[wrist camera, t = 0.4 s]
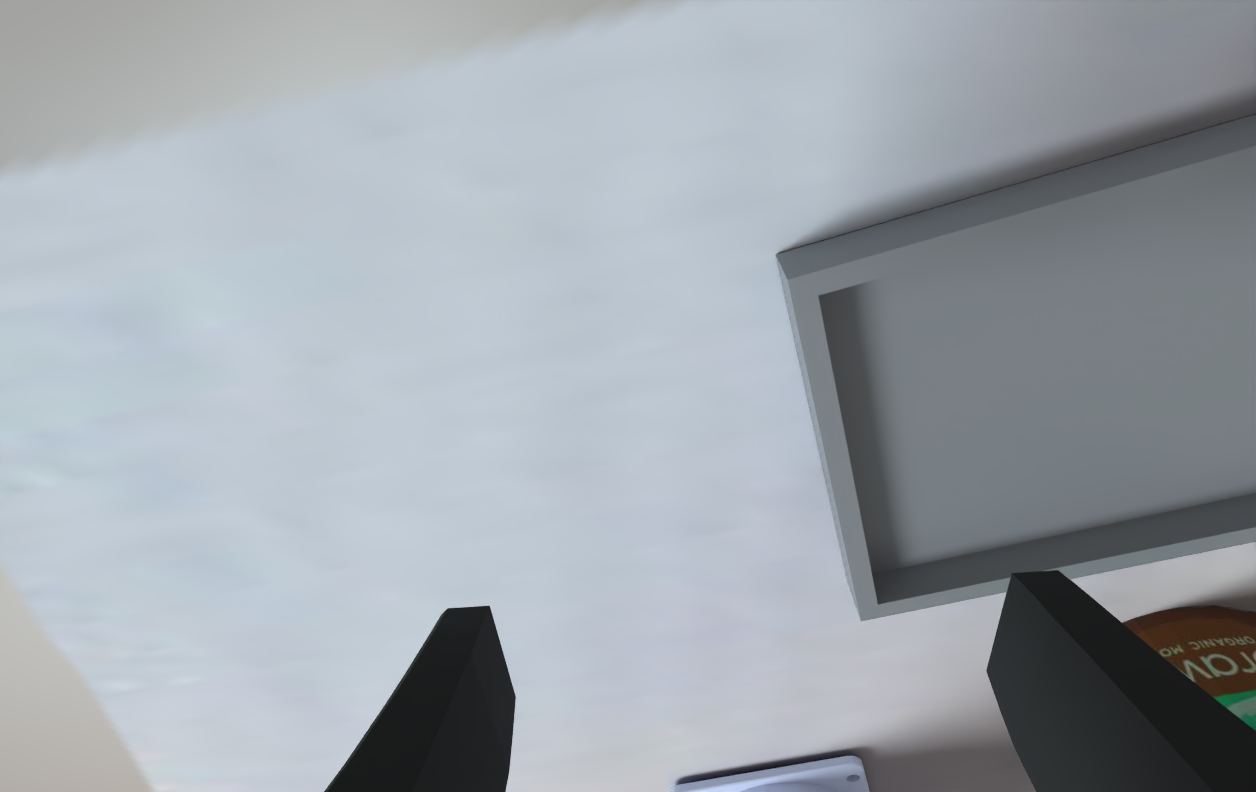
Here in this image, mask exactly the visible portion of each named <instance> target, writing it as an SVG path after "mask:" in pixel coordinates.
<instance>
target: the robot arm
mask: <svg viewBox="0 0 1256 792" xmlns="http://www.w3.org/2000/svg"><path fill="white" fill-rule="evenodd" d="M987 674H988V677H989V680H990V682H991V685H992V688H993V691H994V694H995V697H996V699H997V702H998V705H999V708H1000V711H1001V713H1002V716H1003V719H1004V721H1005V724H1006V726H1007V729H1008V732H1009V734H1010V737H1011V740H1012V742H1013V745H1014V747H1015V749H1016V751H1017V753H1018V755H1019V757H1020V759H1021V762H1022V764H1023V766H1024V768H1025V770H1026V772H1027V774H1028V776H1029V778H1030V780H1031V782H1032V784H1033V786H1034V788H1035V790H1036V792H1256V730H1254V729H1253V728H1252V727H1250V726H1249V725H1248V724H1247V723H1245V722H1244V721H1243V720H1241V719H1240V718H1239V717H1237V716H1236V715H1235V714H1234V713H1232V712H1231V711H1230V710H1229V709H1227V708H1226V707H1225V706H1223V705H1222V704H1221V703H1220V702H1218V701H1217V700H1216V699H1215V698H1213V697H1212V696H1211V695H1210V694H1208V693H1207V692H1206V691H1205V690H1203V689H1202V688H1201V687H1199V686H1198V685H1197V684H1196V683H1194V682H1193V681H1192V680H1191V679H1189V678H1188V677H1187V676H1186V675H1185V674H1183V673H1182V672H1181V671H1180V670H1178V669H1177V668H1176V667H1175V666H1173V665H1172V664H1171V663H1170V662H1169V661H1167V660H1166V659H1165V658H1164V657H1162V656H1161V655H1160V654H1159V653H1158V652H1156V651H1155V650H1154V649H1153V648H1152V647H1150V646H1149V645H1148V644H1147V643H1146V642H1144V641H1143V640H1142V639H1141V638H1139V637H1138V636H1137V635H1136V634H1135V633H1133V632H1132V631H1131V630H1130V629H1129V628H1127V627H1126V626H1125V625H1124V624H1123V623H1121V622H1120V621H1119V620H1118V619H1117V618H1115V617H1114V616H1113V615H1112V614H1111V613H1109V612H1108V611H1107V610H1106V609H1105V608H1103V607H1102V606H1101V605H1100V604H1099V603H1097V602H1096V601H1095V600H1094V599H1093V598H1091V597H1090V596H1089V595H1088V594H1087V593H1086V592H1084V591H1083V590H1082V589H1081V588H1079V587H1078V586H1077V585H1076V584H1075V583H1073V582H1072V581H1071V580H1070V579H1068V578H1067V577H1066V576H1065V575H1064V574H1062V573H1061V572H1060V571H1059V570H1052V571H1036V572H1020V573H1012V574H1011V578H1010V582H1009V586H1008V589H1007V593H1006V597H1005V601H1004V605H1003V609H1002V613H1001V617H1000V620H999V624H998V628H997V632H996V636H995V640H994V644H993V647H992V651H991V655H990V659H989V663H988V667H987ZM515 698H516V697H515V693H514V690H513V686H512V683H511V679H510V676H509V672H508V669H507V665H506V662H505V658H504V655H503V651H502V648H501V644H500V641H499V637H498V634H497V630H496V627H495V623H494V620H493V616H492V613H491V609H490V606H479V607H464V608H448V609H447V610H446V611H445V612H444V613H443V614H442V615H441V616H440V618H439V620H438V621H437V623H436V625H435V626H434V628H433V630H432V631H431V633H430V635H429V636H428V638H427V639H426V641H425V643H424V644H423V646H422V648H421V649H420V651H419V653H418V654H417V656H416V657H415V659H414V661H413V662H412V664H411V665H410V667H409V669H408V670H407V672H406V673H405V675H404V676H403V678H402V679H401V681H400V683H399V684H398V686H397V687H396V689H395V690H394V692H393V693H392V695H391V697H390V698H389V700H388V701H387V703H386V704H385V706H384V707H383V709H382V710H381V712H380V713H379V715H378V716H377V717H376V719H375V720H374V722H373V723H372V725H371V726H370V728H369V729H368V731H367V732H366V734H365V735H364V737H363V738H362V740H361V741H360V743H359V744H358V745H357V747H356V748H355V750H354V751H353V753H352V754H351V756H350V757H349V759H348V760H347V761H346V763H345V764H344V766H343V767H342V768H341V770H340V771H339V772H338V774H337V775H336V777H335V778H334V779H333V781H332V782H331V783H330V785H329V786H328V787H327V789H326V790H325V791H324V792H505V791H506V785H507V780H508V774H509V767H510V757H511V746H512V736H513V723H514V711H515ZM670 792H869V788H868V784H867V780H866V776H865V772H864V768H863V764H862V761H861V759H860V758H858V757H856V756H843V757H837V758H831V759H825V760H820V761H814V762H808V763H802V764H796V765H790V766H784V767H779V768H773V769H767V770H761V771H755V772H749V773H744V774H738V775H732V776H726V777H720V778H714V779H709V780H703V781H697V782H691V783H685V784H679V785H676V786H674V787H672V788H671V790H670Z"/></svg>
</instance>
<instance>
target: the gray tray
mask: <svg viewBox="0 0 1256 792" xmlns="http://www.w3.org/2000/svg"><path fill="white" fill-rule="evenodd" d="M776 259H777V263H778V268H779V272H780V277H781V281H782V286H783V291H784V295H785V300H786V304H787V309H788V313H789V318H790V322H791V327H792V331H793V336H794V341H795V345H796V350H797V354H798V359H799V363H800V368H801V372H802V377H803V381H804V386H805V390H806V395H807V400H808V404H809V409H810V413H811V418H812V422H813V427H814V431H815V436H816V440H817V445H818V450H819V454H820V459H821V463H822V468H823V472H824V477H825V481H826V486H827V490H828V495H829V499H830V504H831V509H832V513H833V518H834V522H835V527H836V531H837V536H838V540H839V545H840V549H841V554H842V558H843V563H844V568H845V572H846V577H847V581H848V585H849V588H850V591H851V593H852V596H853V599H854V602H855V605H856V608H857V611H858V614H859V617H860V620H861V621H865V620H870V619H875V618H880V617H885V616H890V615H895V614H900V613H904V612H909V611H914V610H919V609H924V608H929V607H934V606H939V605H944V604H949V603H954V602H959V601H964V600H969V599H974V598H979V597H984V596H989V595H994V594H999V593H1004V592H1007V589H1008V586H1009V582H1010V578H1011V574H1012V573H1020V572H1036V571H1052V570H1059V571H1060V572H1061V573H1062V574H1064V575H1065V576H1066V577H1067V578H1068V579H1073V578H1078V577H1083V576H1088V575H1093V574H1098V573H1103V572H1108V571H1113V570H1118V569H1123V568H1128V567H1132V566H1137V565H1142V564H1147V563H1152V562H1157V561H1162V560H1167V559H1172V558H1177V557H1182V556H1187V555H1192V554H1197V553H1202V552H1207V551H1212V550H1217V549H1222V548H1227V547H1232V546H1237V545H1242V544H1246V543H1251V542H1256V114H1255V115H1251V116H1248V117H1244V118H1241V119H1237V120H1234V121H1231V122H1227V123H1224V124H1220V125H1217V126H1214V127H1210V128H1207V129H1203V130H1200V131H1196V132H1193V133H1190V134H1186V135H1183V136H1179V137H1176V138H1172V139H1169V140H1166V141H1162V142H1159V143H1155V144H1152V145H1149V146H1145V147H1142V148H1138V149H1135V150H1131V151H1128V152H1125V153H1121V154H1118V155H1114V156H1111V157H1108V158H1104V159H1101V160H1097V161H1094V162H1090V163H1087V164H1084V165H1080V166H1077V167H1073V168H1070V169H1066V170H1063V171H1060V172H1056V173H1053V174H1049V175H1046V176H1043V177H1039V178H1036V179H1032V180H1029V181H1025V182H1022V183H1019V184H1015V185H1012V186H1008V187H1005V188H1001V189H998V190H995V191H991V192H988V193H984V194H981V195H978V196H974V197H971V198H967V199H964V200H960V201H957V202H954V203H950V204H947V205H943V206H940V207H937V208H933V209H930V210H926V211H923V212H919V213H916V214H913V215H909V216H906V217H902V218H899V219H895V220H892V221H889V222H885V223H882V224H878V225H875V226H872V227H868V228H865V229H861V230H858V231H854V232H851V233H848V234H844V235H841V236H837V237H834V238H831V239H827V240H824V241H820V242H817V243H813V244H810V245H807V246H803V247H800V248H796V249H793V250H789V251H786V252H783V253H779V254H776Z"/></svg>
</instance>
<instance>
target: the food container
mask: <svg viewBox="0 0 1256 792" xmlns="http://www.w3.org/2000/svg"><path fill="white" fill-rule="evenodd" d="M1123 624H1124V625H1125V626H1126V627H1127V628H1129V629H1130V630H1131V631H1132V632H1133V633H1135V634H1136V635H1137V636H1138V637H1139V638H1141V639H1142V640H1143V641H1144V642H1146V643H1147V644H1148V645H1149V646H1150V647H1152V648H1153V649H1154V650H1155V651H1156V652H1158V653H1159V654H1160V655H1161V656H1162V657H1164V658H1165V659H1166V660H1167V661H1169V662H1170V663H1171V664H1172V665H1173V666H1175V667H1176V668H1177V669H1178V670H1180V671H1181V672H1182V673H1183V674H1185V675H1186V676H1187V677H1188V678H1189V679H1191V680H1192V681H1193V682H1194V683H1196V684H1197V685H1198V686H1199V687H1201V688H1202V689H1203V690H1205V691H1206V692H1207V693H1208V694H1210V695H1211V696H1212V697H1213V698H1215V699H1216V700H1217V701H1218V702H1220V703H1221V704H1222V705H1223V706H1225V707H1226V708H1227V709H1229V710H1230V711H1231V712H1232V713H1234V714H1235V715H1236V716H1237V717H1239V718H1240V719H1241V720H1243V721H1244V722H1245V723H1247V724H1248V725H1249V726H1250V727H1252V728H1253V729H1254V730H1256V613H1255V612H1251V611H1245V610H1238V609H1232V608H1226V607H1220V606H1203V607H1187V608H1177V609H1171V610H1166V611H1160V612H1156V613H1152V614H1148V615H1145V616H1141V617H1138V618H1134V619H1132V620H1129V621H1126V622H1124V623H1123Z"/></svg>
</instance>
